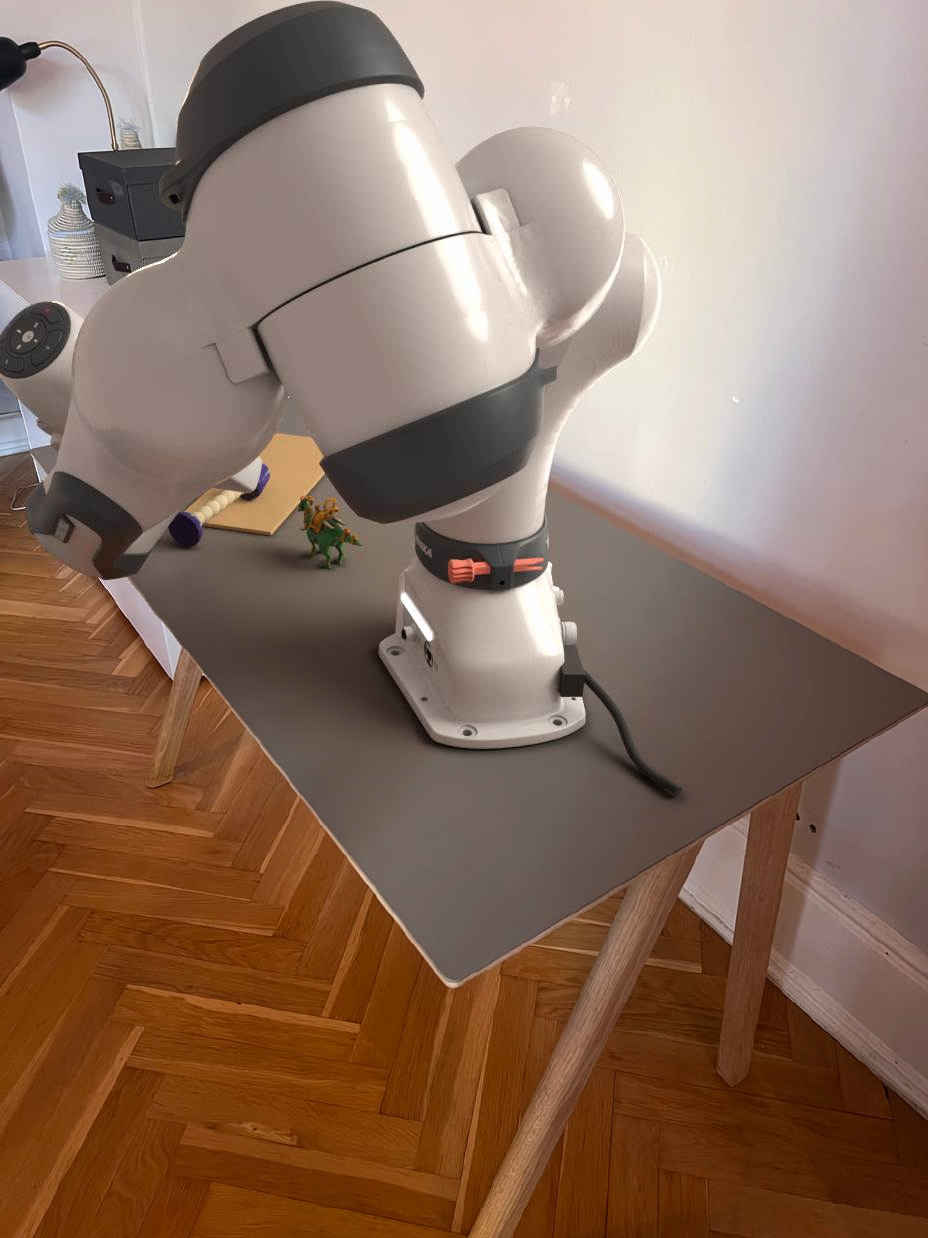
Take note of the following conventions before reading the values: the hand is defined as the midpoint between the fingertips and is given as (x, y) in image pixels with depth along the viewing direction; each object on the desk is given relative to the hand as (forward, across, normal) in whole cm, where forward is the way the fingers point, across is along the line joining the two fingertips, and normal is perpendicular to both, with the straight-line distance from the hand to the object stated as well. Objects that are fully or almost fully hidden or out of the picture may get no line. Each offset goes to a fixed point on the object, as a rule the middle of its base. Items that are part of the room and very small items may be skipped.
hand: (189, 484), depth 98 cm
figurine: (+8, +15, -4) cm, 17 cm away
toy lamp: (+5, -2, -4) cm, 7 cm away
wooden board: (+22, 0, +9) cm, 24 cm away
